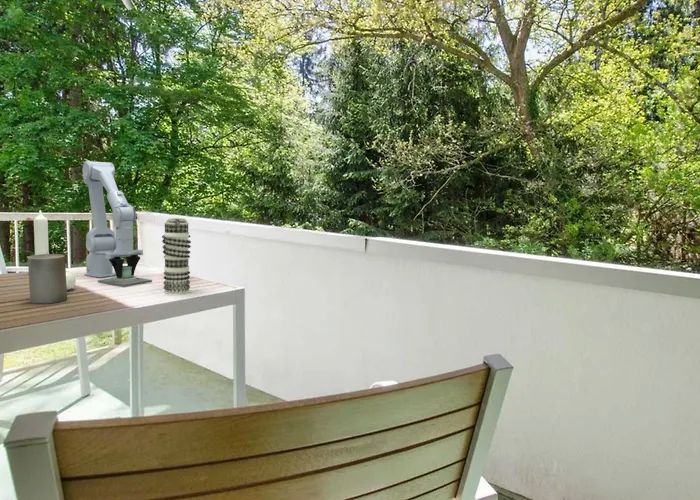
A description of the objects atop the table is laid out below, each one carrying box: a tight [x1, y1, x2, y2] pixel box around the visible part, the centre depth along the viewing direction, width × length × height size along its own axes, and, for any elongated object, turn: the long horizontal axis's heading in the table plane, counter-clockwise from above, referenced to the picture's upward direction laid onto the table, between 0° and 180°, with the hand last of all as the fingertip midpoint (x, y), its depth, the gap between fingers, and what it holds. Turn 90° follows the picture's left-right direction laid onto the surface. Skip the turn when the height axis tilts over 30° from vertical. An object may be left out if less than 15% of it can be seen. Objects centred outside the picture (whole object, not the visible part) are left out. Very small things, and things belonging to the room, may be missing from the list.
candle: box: [33, 209, 50, 255], centre depth 189 cm, size 7×7×25 cm
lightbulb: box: [66, 270, 77, 291], centre depth 163 cm, size 6×6×11 cm
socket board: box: [97, 275, 153, 288], centre depth 183 cm, size 14×12×2 cm
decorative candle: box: [161, 217, 192, 295], centre depth 168 cm, size 9×9×25 cm
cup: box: [118, 265, 132, 279], centre depth 182 cm, size 5×5×5 cm
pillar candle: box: [27, 252, 68, 304], centre depth 150 cm, size 10×10×15 cm
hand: (125, 276), depth 182 cm, fingers closed on cup, 5 cm apart
